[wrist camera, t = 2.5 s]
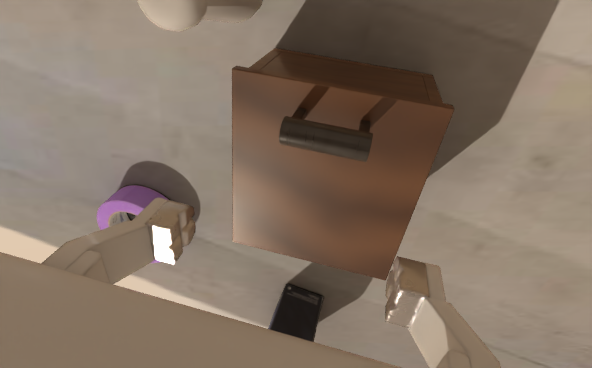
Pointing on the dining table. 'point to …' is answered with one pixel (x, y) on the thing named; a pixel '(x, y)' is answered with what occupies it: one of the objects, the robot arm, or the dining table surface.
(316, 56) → the chest
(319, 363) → the robot arm
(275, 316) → the small box
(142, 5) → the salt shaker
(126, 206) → the tape roll
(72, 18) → the dining table surface
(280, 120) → the lid
